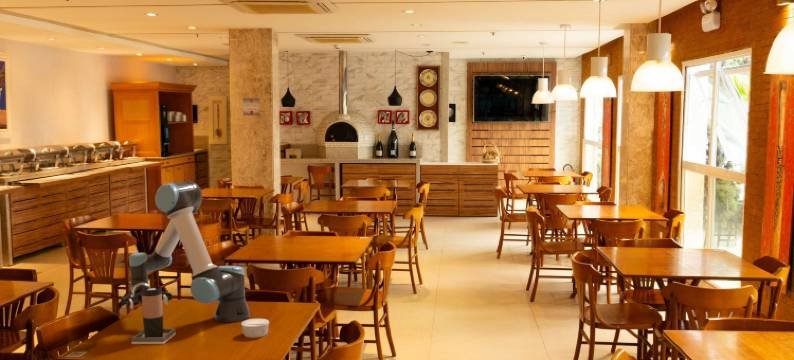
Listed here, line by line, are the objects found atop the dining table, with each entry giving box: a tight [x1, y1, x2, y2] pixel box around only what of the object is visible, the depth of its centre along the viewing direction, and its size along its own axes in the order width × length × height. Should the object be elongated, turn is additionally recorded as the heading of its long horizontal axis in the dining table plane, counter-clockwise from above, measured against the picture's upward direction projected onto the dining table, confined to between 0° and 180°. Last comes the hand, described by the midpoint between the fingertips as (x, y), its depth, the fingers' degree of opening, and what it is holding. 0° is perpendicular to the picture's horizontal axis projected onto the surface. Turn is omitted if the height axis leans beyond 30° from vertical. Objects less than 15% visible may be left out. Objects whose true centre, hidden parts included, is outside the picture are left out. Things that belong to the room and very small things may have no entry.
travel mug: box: [141, 285, 164, 337], centre depth 293 cm, size 8×8×20 cm
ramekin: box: [240, 318, 270, 339], centre depth 297 cm, size 11×11×5 cm
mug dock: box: [130, 328, 177, 345], centre depth 294 cm, size 13×13×2 cm
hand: (149, 303), depth 299 cm, fingers open, 13 cm apart
